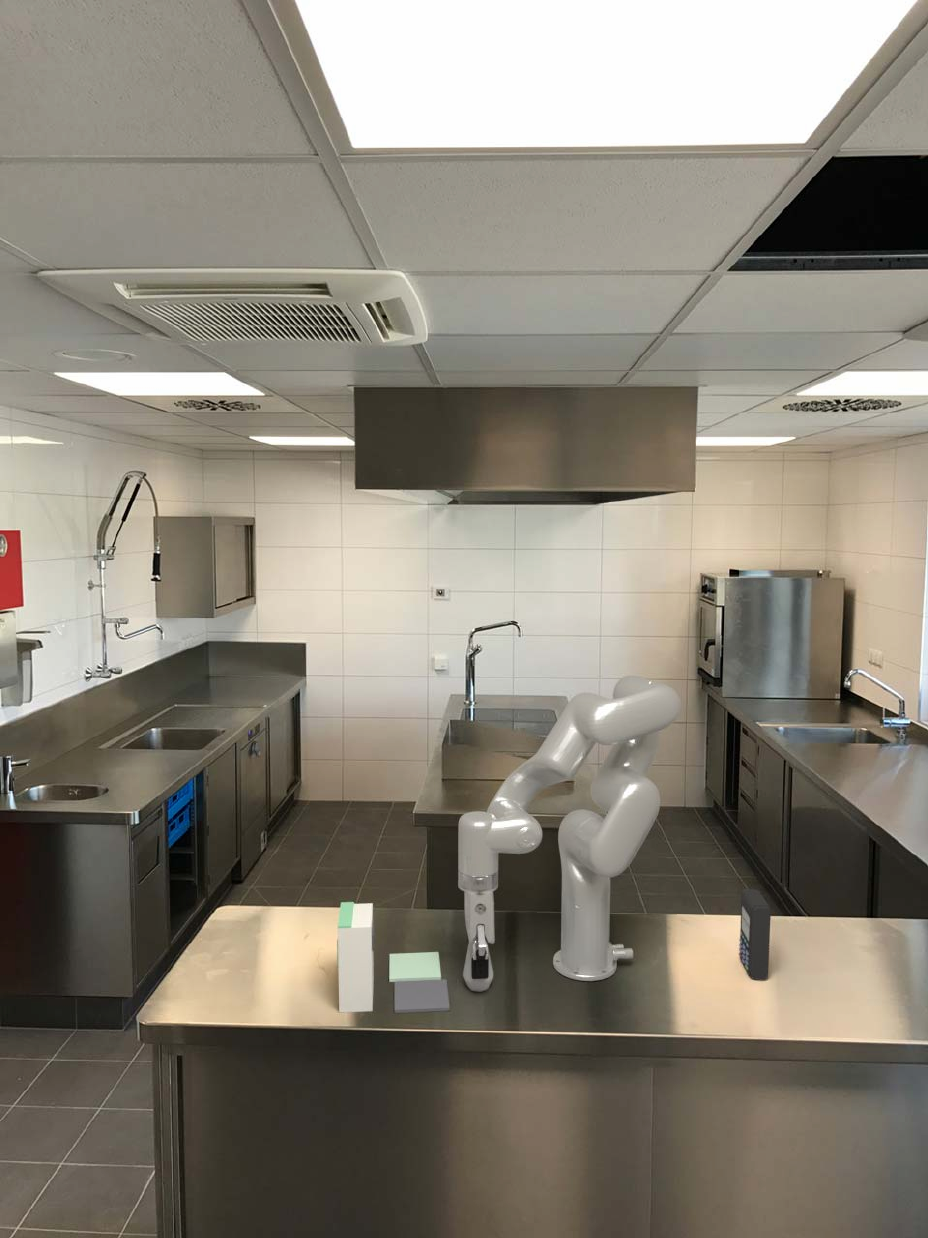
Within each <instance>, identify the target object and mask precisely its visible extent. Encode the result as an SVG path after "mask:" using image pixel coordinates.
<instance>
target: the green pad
mask: <svg viewBox="0 0 928 1238" xmlns="http://www.w3.org/2000/svg"><path fill="white" fill-rule="evenodd" d="M388 966H389V968H388V969H389V972H388V973H389V976H388V977H389V983H395V981H418V980H441V979H442V973H441V965H440V955H439V952H438V951H431V952H430V951H429V952H428V951H427V952H407V953H406V952H405V953H402V952H399V953H389V965H388Z"/></svg>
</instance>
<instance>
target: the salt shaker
mask: <svg viewBox="0 0 928 1238" xmlns="http://www.w3.org/2000/svg"><path fill="white" fill-rule="evenodd" d="M475 941H478V938H477V939H475ZM487 945H488V946H489V943H488V942H487ZM477 949H478V945H476V950H477ZM466 950H467V951H466V955H465V961H464V966H463V973H462V976H463V979H464V982H465V984H466V987H468V989H469V990H470V991H472V992H477V993H478V992H480V993H481V992H484V991H486V990H488V989H490V986H491V983H492V981H493V979H494V970H493V965H492V959H491V955H490V949H489V947H488V957H489V977H488V978H487V979H472V977H471V957H473V947H472V944H470V943H468V949H466Z"/></svg>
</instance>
